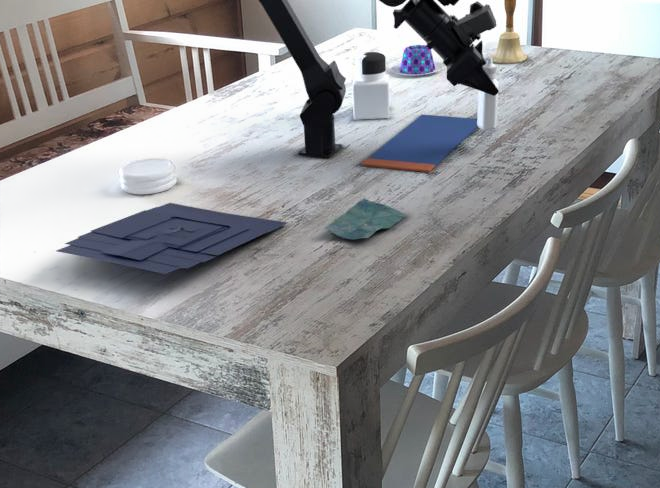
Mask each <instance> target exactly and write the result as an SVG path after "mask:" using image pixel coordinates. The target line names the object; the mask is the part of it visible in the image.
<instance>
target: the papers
mask: <svg viewBox="0 0 660 488" xmlns="http://www.w3.org/2000/svg"><path fill="white" fill-rule="evenodd" d="M287 224H289V222H287V221H280V220H275V219H268V218H267V219H266V218H261V217H253V216H248V215H240V214H235V213H234V214H233V213H227V212H221V211H216V210H212V209H211V210H210V209H206V208H200V207H194V206H188V205H182V204H178V203H172V202H168V203H166V204H162V205H159V206H156V207H152V208H150V209H147V210H145V209H144V210H142V211H139V212H137V213H133V214H131V215H129V216H126V217H123V218H120V219H118V220H115V221H112V222H110V223H108V224H105V225H102V226H100V227H97V228H94V229H91V230H90V232H86V233H84V234H82V235H79V236H77V237H76V238H74V239H72V240H69V241H68V242H64V245H67V246H64V247H61V248H59V249H57V250H55V252H57V253H61V254H68V255H73V256H77V257H83V258H88V259H93V260H97V261H101V262H107V263H112V264H118V265H122V266H126V267H131V268H137V269H141V270H146V271H148V272H149V271H150V272H154V273H160V274H164V275H166V274H168V273H171V272H173V271H176V270H178V269H181V268H183V269H189V268H191V267H194V266H196V265H198V264H200V263H206V262H208V261H210V260H212V259H214V258H218V257H219V256H220V255H221V254H223V253H226V252H228V251H231V250H232V249H234V248H236V247H239V246H241V245H244V244H245V243H247V242H250V241H252V240H254V239H256V238H258V237H260V236H262V235H265V234H268V233H270V232H273V231H275V230H277V229H280V228H281V227H283V226H285V225H287Z"/></svg>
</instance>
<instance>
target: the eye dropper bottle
mask: <svg viewBox="0 0 660 488" xmlns="http://www.w3.org/2000/svg"><path fill="white" fill-rule="evenodd" d="M486 62H487V63H486V64H485V65H483V68H484V69H485V71H486V72H487V74H488V75H489V77H490V78H491V80H492V81H493V83H494V84H495V86H496V87H497V89H498V90H499V89H500V85H499V80H498V79H497V69H498V66H497V64H494V62H493V61H492V57H491V56H488V57H487V59H486ZM497 80H498V81H497ZM477 91H478V93H477V115H476V116H477V118H476V119H477V125H478V128H479V129H481V130H482V131H483V130H484V131H489V130H490V131H491V130H496V128H497V126H498V114H499V113H498V111H499V93H500V90H499V92H498V93H497V94H496V95H495V96H493V95H490V94H488V93H485V92H482V91H479V90H477Z"/></svg>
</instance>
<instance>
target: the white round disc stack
mask: <svg viewBox="0 0 660 488" xmlns="http://www.w3.org/2000/svg"><path fill="white" fill-rule="evenodd" d="M118 172H119V173H118V174H119V176H120V178H119V181H120V183H121V184H120V186H121V189H122V190H123V191H125V192H126V193H128V194H131V195H153V194H159V193H161V192H165V191H167V190H169V189H172V188H173V187H174V186H175V185H177V181H178V178H177V171H176V165H175V163H174V162H173V161H172V160H169V159H166V158H160V157H151V158H149V157H148V158H141V159H137V160H134V161H133V160H132V161H130V162H128V163H125V164H123V165H122V167H121V168H120V169H119V171H118Z"/></svg>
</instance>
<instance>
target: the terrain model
mask: <svg viewBox="0 0 660 488" xmlns="http://www.w3.org/2000/svg"><path fill="white" fill-rule="evenodd" d="M406 216H407V214H406V213H404V212H401V211H400V210H397V209H395V208H393V207H391V206H389V205H387V204H383V203H378V202H373V201H371V200H369V199H367V198H362V199H360V200H359V201H357V203H356V204H354V205H353V206H351V207H350V208H349V209H347V211H346V212H344V213H343V214H341V215H340V216H339V217H338V218H335V219H333V221H332V222H331V223H330V224H328V225H326V226H325V227H324V229H326V230H327V231H329V232H331V233H332V234H334V235H336V236H338V237H341V238H343V239H345V240H346V239H347V240H360V239H369V238H370V237H371V236H372V235H374V234H375V233H376V232H377V231H379V230H387V229H391V228H392V227H393V226H394V225H395V224H397V223H398V222H401V221H402V220H403V219H404V218H405V217H406Z"/></svg>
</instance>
